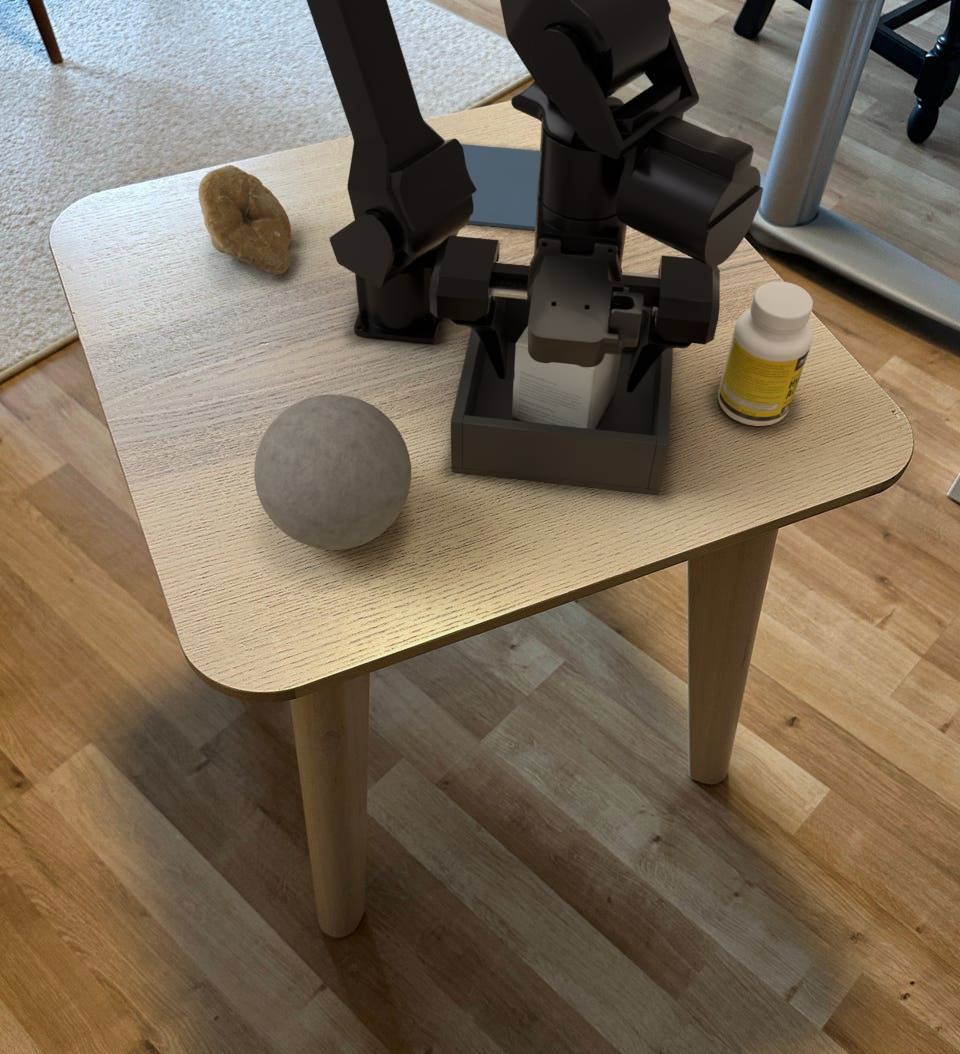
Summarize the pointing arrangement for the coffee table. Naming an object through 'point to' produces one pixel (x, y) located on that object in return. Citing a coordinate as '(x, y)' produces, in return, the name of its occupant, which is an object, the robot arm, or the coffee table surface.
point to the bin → (560, 451)
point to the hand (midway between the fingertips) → (565, 381)
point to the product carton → (561, 389)
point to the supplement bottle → (767, 355)
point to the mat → (503, 186)
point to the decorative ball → (332, 472)
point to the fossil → (245, 219)
